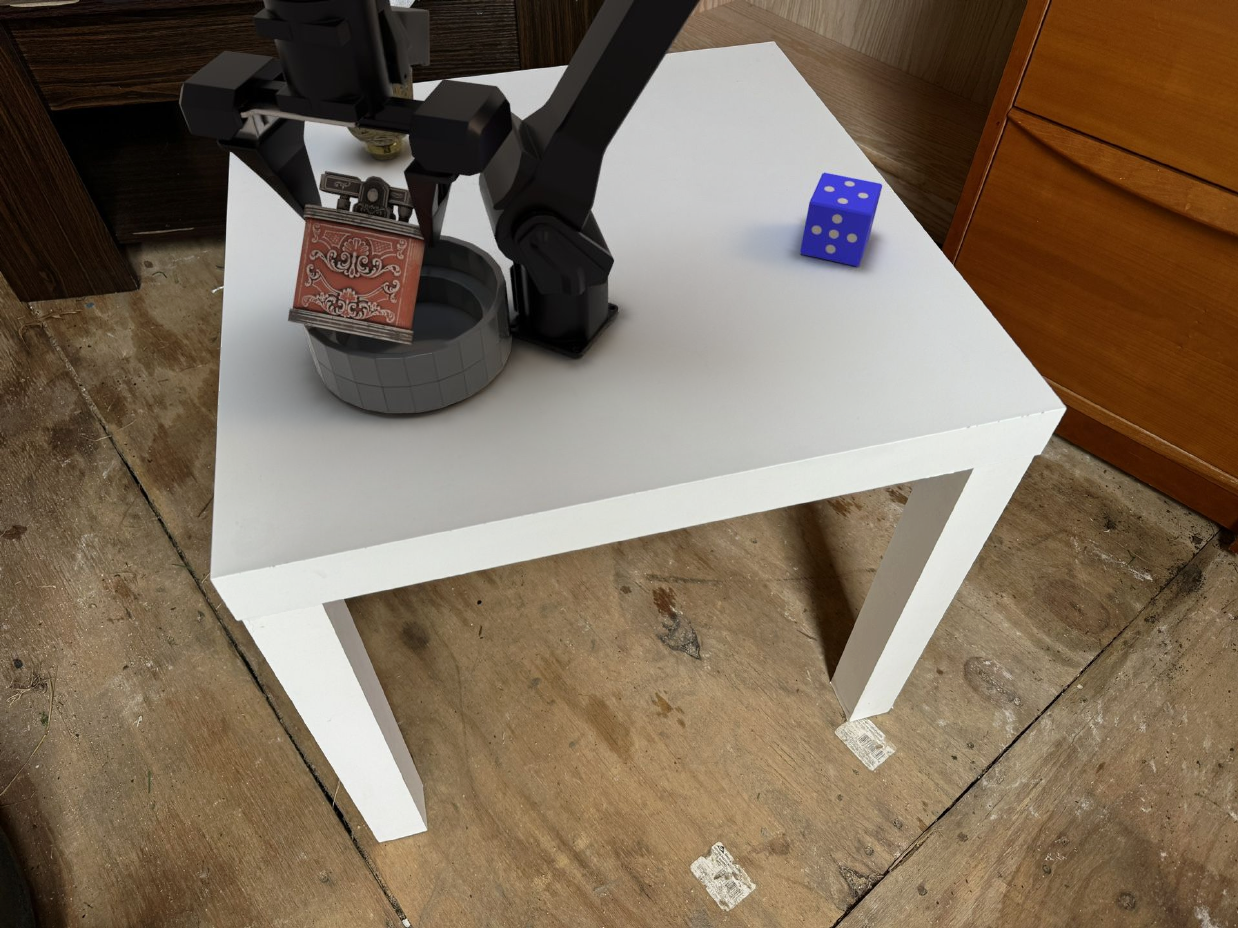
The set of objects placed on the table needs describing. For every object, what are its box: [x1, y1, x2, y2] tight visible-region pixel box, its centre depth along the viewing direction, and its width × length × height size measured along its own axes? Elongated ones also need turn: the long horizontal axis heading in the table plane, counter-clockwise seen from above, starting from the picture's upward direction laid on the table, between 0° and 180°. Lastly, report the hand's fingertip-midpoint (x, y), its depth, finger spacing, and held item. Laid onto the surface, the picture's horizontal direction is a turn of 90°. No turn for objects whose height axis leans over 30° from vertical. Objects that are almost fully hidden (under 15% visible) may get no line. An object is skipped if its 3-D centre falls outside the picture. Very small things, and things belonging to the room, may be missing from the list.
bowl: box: [301, 234, 513, 414], centre depth 64 cm, size 14×14×6 cm
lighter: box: [287, 170, 426, 344], centre depth 57 cm, size 8×3×10 cm
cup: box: [346, 65, 415, 160], centre depth 82 cm, size 8×7×8 cm
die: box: [799, 172, 883, 267], centre depth 73 cm, size 5×5×5 cm
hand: (375, 235), depth 58 cm, fingers closed on lighter, 8 cm apart
